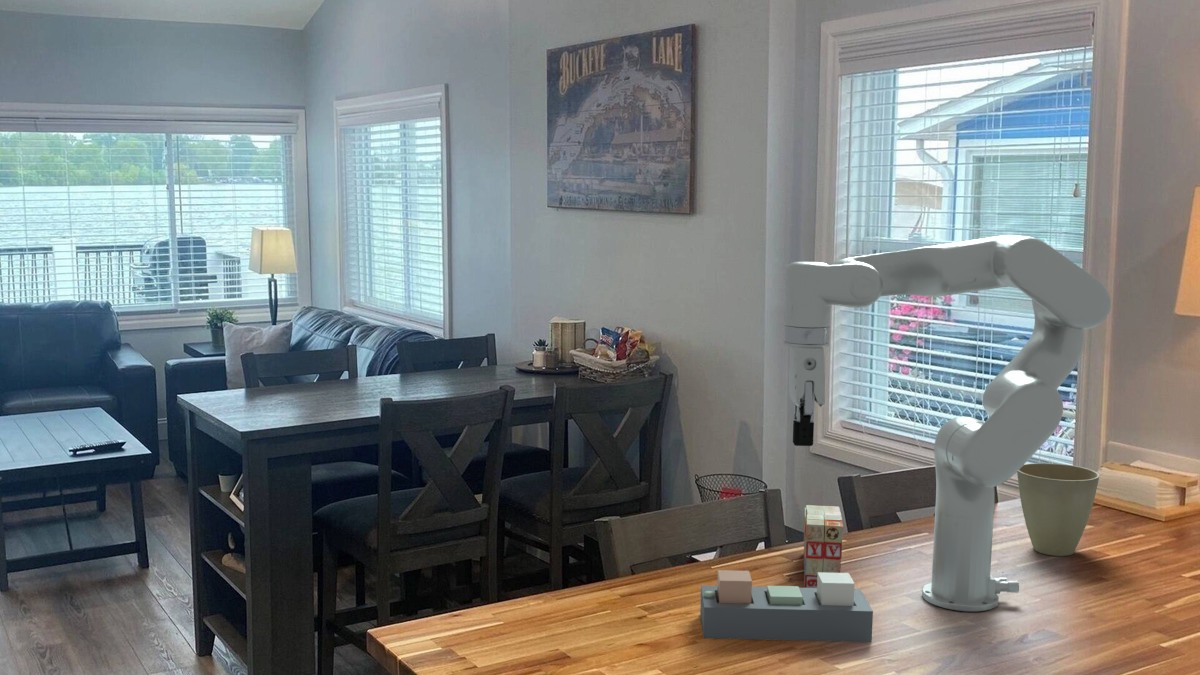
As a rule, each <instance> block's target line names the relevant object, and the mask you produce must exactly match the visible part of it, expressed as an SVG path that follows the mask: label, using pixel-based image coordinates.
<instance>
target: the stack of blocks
mask: <svg viewBox="0 0 1200 675" xmlns="http://www.w3.org/2000/svg"><path fill="white" fill-rule="evenodd" d="M803 508H804V510H803V528H804V529H803V531H804V532H803V568H804V572H803V573H804V575H803V576H804V577H803V578H804V581H803V588H817V574H818V572H825V573H841V569H842V568H841V567H842V566H841V564H842V558H843V557H842V554H843V537H844V536H843V533H844V524H843V517H842V513H841V509H840V506H835V505H832V506H831V505H830V506H829V505H814V504H813V505H811V504H806V505H805V507H803Z"/></svg>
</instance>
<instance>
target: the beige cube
mask: <svg viewBox="0 0 1200 675" xmlns="http://www.w3.org/2000/svg"><path fill="white" fill-rule="evenodd" d="M716 586H717V602H718V603H743V604H751V597H752V587H753V580H752V577H751V573H750V570H731V569H730V570H726V569H725V570H723V569H722V570H721V569H720V570H719V569H718V570H717V584H716Z"/></svg>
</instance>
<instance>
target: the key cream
mask: <svg viewBox="0 0 1200 675" xmlns="http://www.w3.org/2000/svg"><path fill="white" fill-rule="evenodd" d="M854 589H855V582H854V580H853V578H852V576H851V575H850V572H840V573H825V572H818V574H817V601H818V603H819V605H831V606H854Z"/></svg>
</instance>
